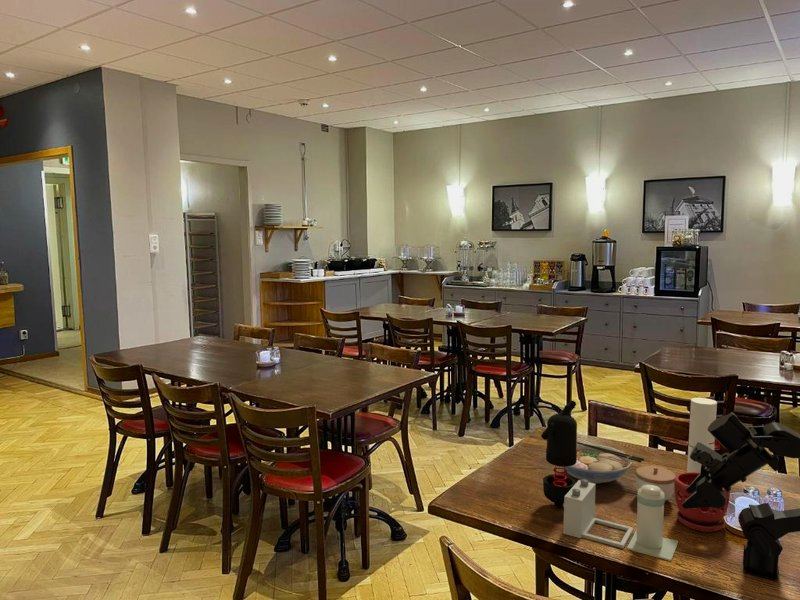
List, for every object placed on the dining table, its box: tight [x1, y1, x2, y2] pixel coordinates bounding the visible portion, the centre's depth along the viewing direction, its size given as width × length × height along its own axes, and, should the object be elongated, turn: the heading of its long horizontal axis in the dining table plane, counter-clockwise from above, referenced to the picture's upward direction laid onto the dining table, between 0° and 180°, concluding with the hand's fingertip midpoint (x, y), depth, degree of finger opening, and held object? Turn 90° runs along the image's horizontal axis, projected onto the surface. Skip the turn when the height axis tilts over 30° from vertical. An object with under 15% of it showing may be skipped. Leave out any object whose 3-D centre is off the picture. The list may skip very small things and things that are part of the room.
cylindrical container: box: [686, 397, 718, 473], centre depth 187 cm, size 7×7×25 cm
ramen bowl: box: [562, 441, 645, 485], centre depth 189 cm, size 25×23×8 cm
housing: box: [563, 479, 635, 550], centre depth 156 cm, size 15×12×11 cm
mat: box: [626, 529, 679, 562], centre depth 150 cm, size 10×10×1 cm
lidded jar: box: [635, 465, 677, 503], centre depth 175 cm, size 11×11×9 cm
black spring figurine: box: [540, 400, 578, 509], centre depth 168 cm, size 14×9×30 cm
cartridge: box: [636, 485, 666, 549], centre depth 150 cm, size 6×6×14 cm
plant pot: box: [673, 471, 731, 533], centre depth 160 cm, size 13×13×12 cm
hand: (685, 499), depth 145 cm, fingers open, 9 cm apart
